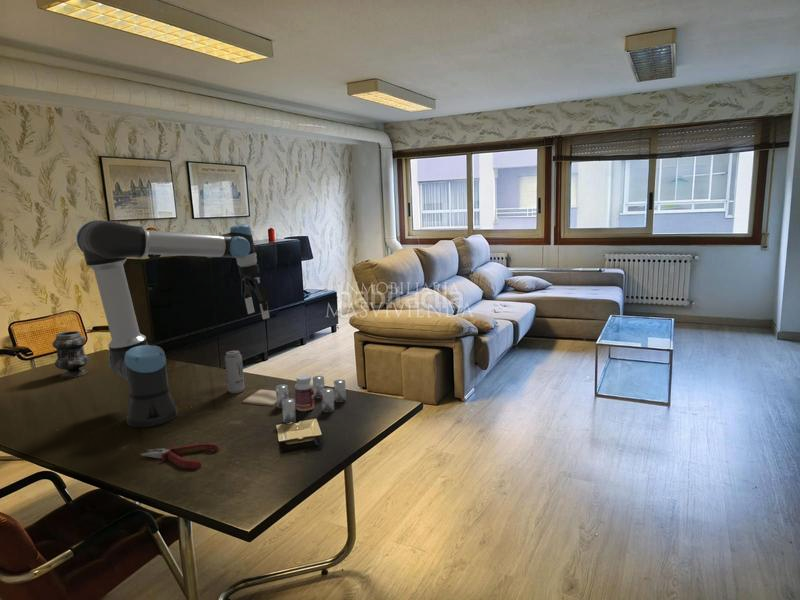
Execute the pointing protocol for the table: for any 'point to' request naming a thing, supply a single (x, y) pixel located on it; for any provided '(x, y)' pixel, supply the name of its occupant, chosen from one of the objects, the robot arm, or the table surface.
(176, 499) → the table surface
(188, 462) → the pliers
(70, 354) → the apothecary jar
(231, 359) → the energy drink can
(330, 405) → the cylinder
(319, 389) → the cylinder
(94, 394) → the table surface
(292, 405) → the spacer near
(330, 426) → the table surface
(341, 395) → the grey cylinder
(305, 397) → the pill bottle
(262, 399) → the coaster
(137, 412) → the robot arm
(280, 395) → the cylinder
